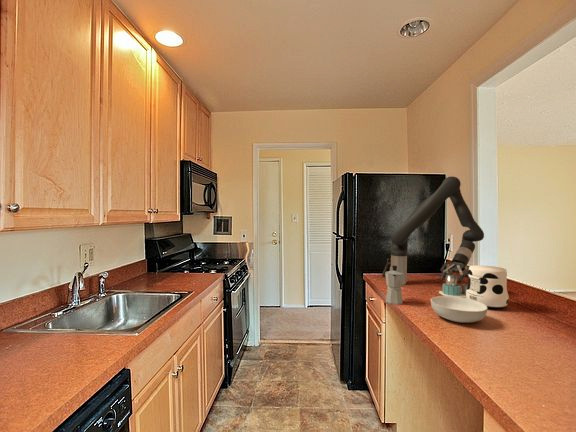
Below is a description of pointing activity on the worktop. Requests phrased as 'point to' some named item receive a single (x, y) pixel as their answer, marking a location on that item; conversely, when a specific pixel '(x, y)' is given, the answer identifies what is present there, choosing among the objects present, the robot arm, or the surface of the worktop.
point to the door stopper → (386, 268)
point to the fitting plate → (454, 290)
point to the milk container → (488, 286)
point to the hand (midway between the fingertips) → (450, 280)
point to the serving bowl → (458, 309)
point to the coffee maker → (394, 286)
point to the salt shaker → (451, 280)
